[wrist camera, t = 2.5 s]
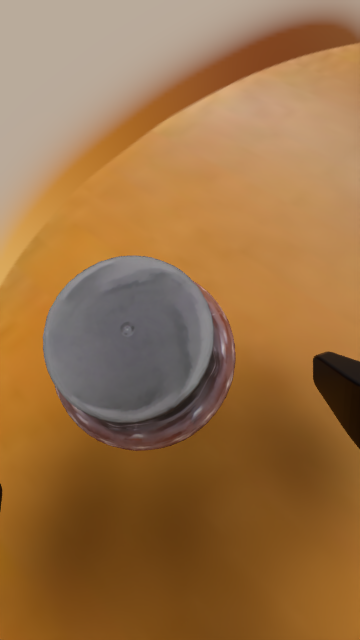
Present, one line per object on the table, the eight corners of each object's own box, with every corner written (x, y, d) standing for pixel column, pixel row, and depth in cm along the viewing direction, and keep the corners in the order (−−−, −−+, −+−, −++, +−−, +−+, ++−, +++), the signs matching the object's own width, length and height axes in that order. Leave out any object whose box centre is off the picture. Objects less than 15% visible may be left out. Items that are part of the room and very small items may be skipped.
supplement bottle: (94, 364, 18) (-49, 297, 7) (175, 310, 19) (160, 176, 8) (148, 452, 16) (75, 541, 6) (233, 389, 17) (314, 359, 6)
